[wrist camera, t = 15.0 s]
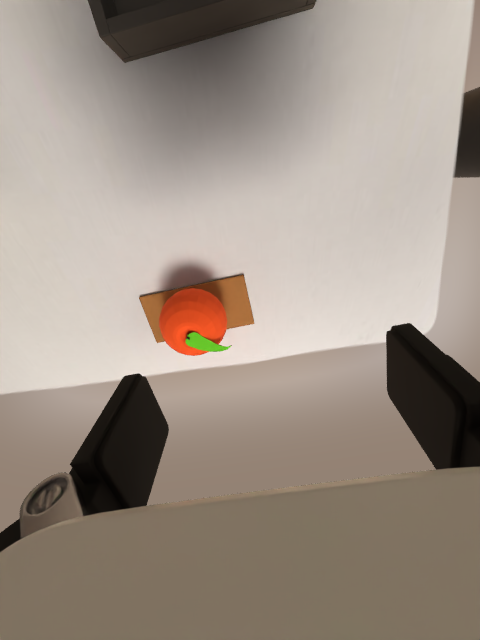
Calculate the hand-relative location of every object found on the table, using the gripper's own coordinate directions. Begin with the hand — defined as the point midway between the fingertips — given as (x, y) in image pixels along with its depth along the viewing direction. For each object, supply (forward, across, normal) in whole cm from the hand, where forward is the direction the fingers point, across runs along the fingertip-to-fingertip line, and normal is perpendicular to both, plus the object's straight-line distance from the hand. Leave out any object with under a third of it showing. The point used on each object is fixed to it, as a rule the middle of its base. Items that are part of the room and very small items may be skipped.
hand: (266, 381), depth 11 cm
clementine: (+21, +7, +5) cm, 23 cm away
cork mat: (+22, +8, +5) cm, 23 cm away
